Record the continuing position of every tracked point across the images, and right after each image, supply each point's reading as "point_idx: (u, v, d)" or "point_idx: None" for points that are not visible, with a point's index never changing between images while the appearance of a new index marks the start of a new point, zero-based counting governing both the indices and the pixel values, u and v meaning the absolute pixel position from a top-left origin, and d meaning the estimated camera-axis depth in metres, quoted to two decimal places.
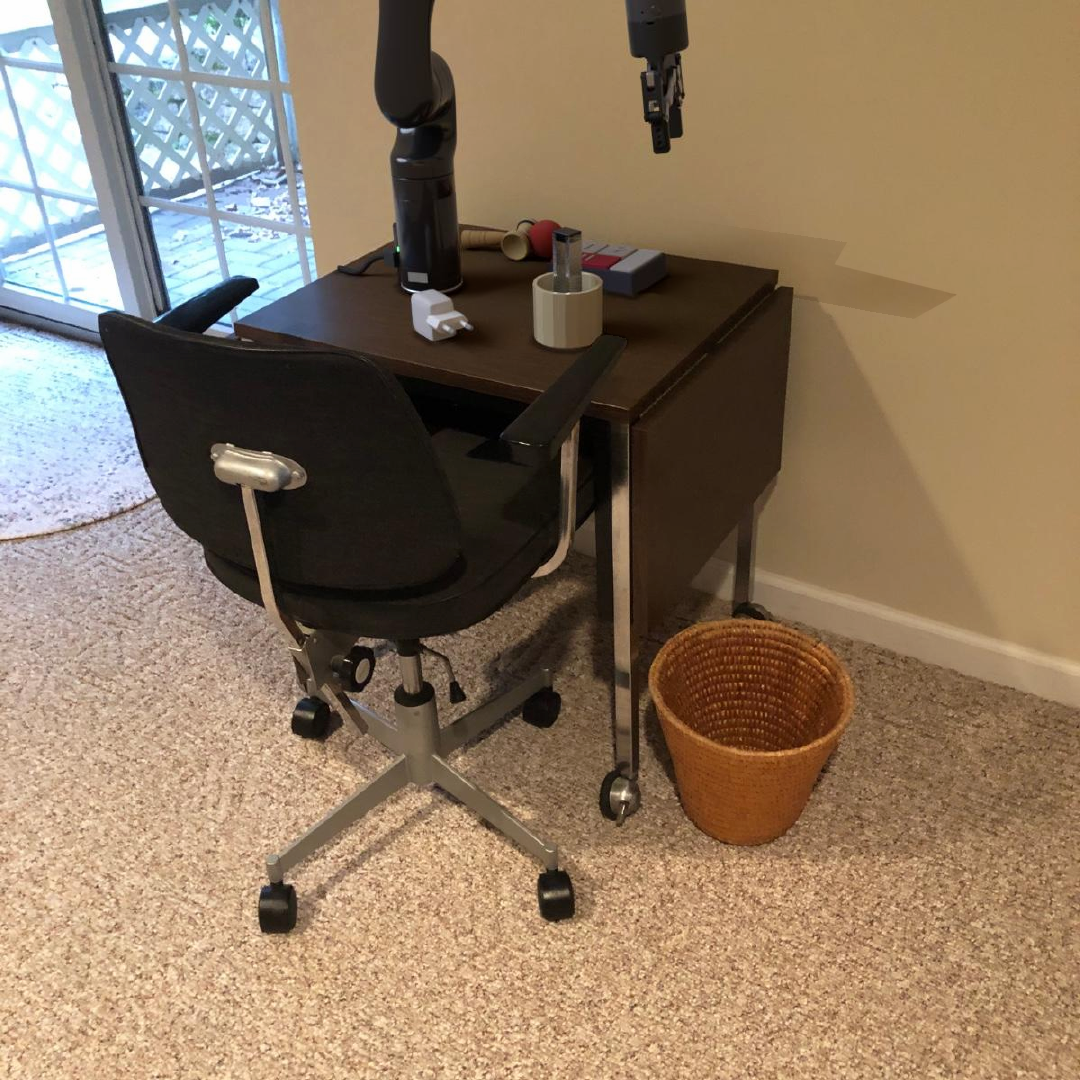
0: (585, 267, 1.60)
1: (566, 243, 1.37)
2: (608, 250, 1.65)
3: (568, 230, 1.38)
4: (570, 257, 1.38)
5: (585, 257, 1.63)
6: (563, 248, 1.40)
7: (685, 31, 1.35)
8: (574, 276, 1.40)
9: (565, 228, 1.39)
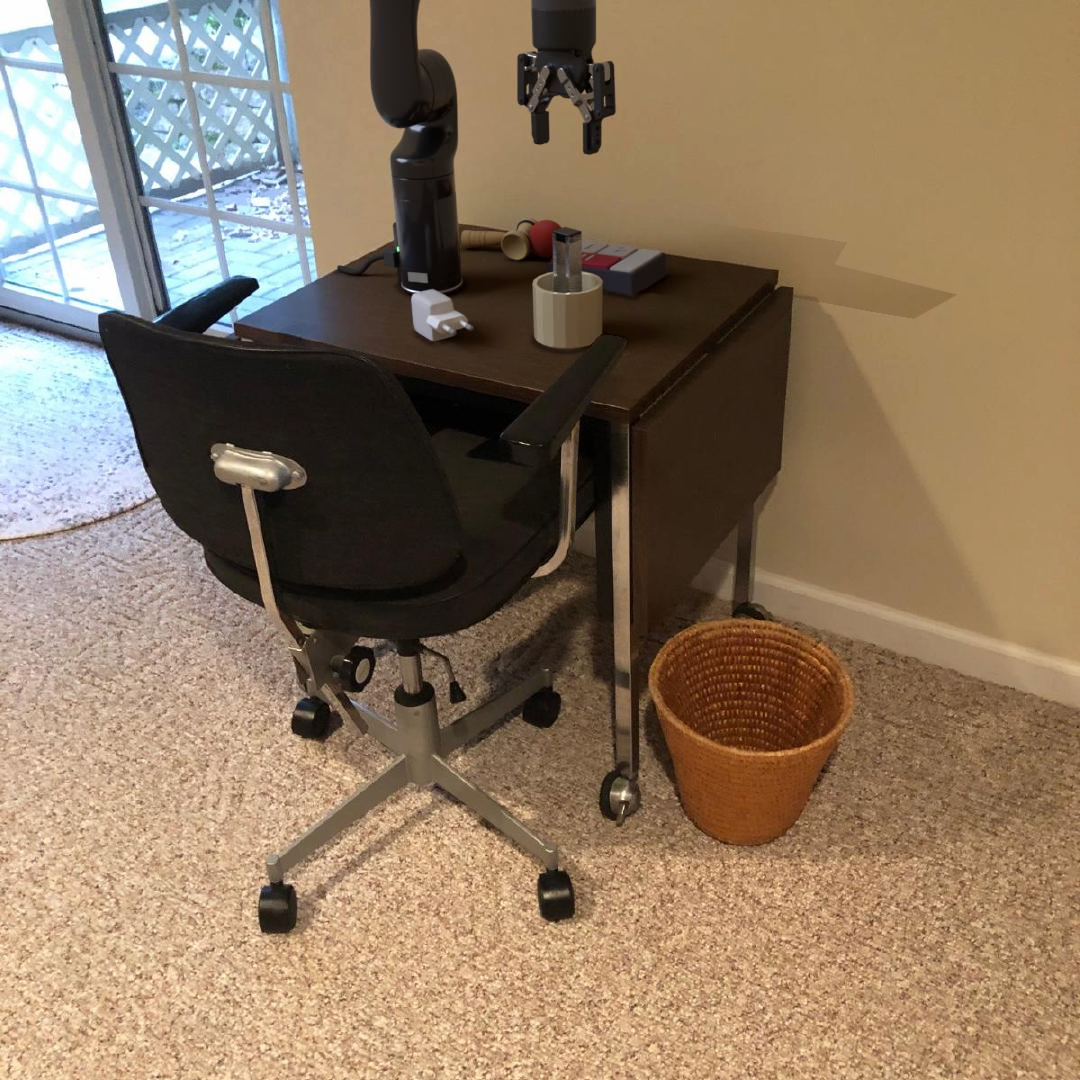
0: (585, 267, 1.60)
1: (566, 243, 1.37)
2: (608, 250, 1.65)
3: (568, 230, 1.38)
4: (570, 257, 1.38)
5: (585, 257, 1.63)
6: (563, 248, 1.40)
7: (537, 30, 1.23)
8: (574, 276, 1.40)
9: (565, 228, 1.39)
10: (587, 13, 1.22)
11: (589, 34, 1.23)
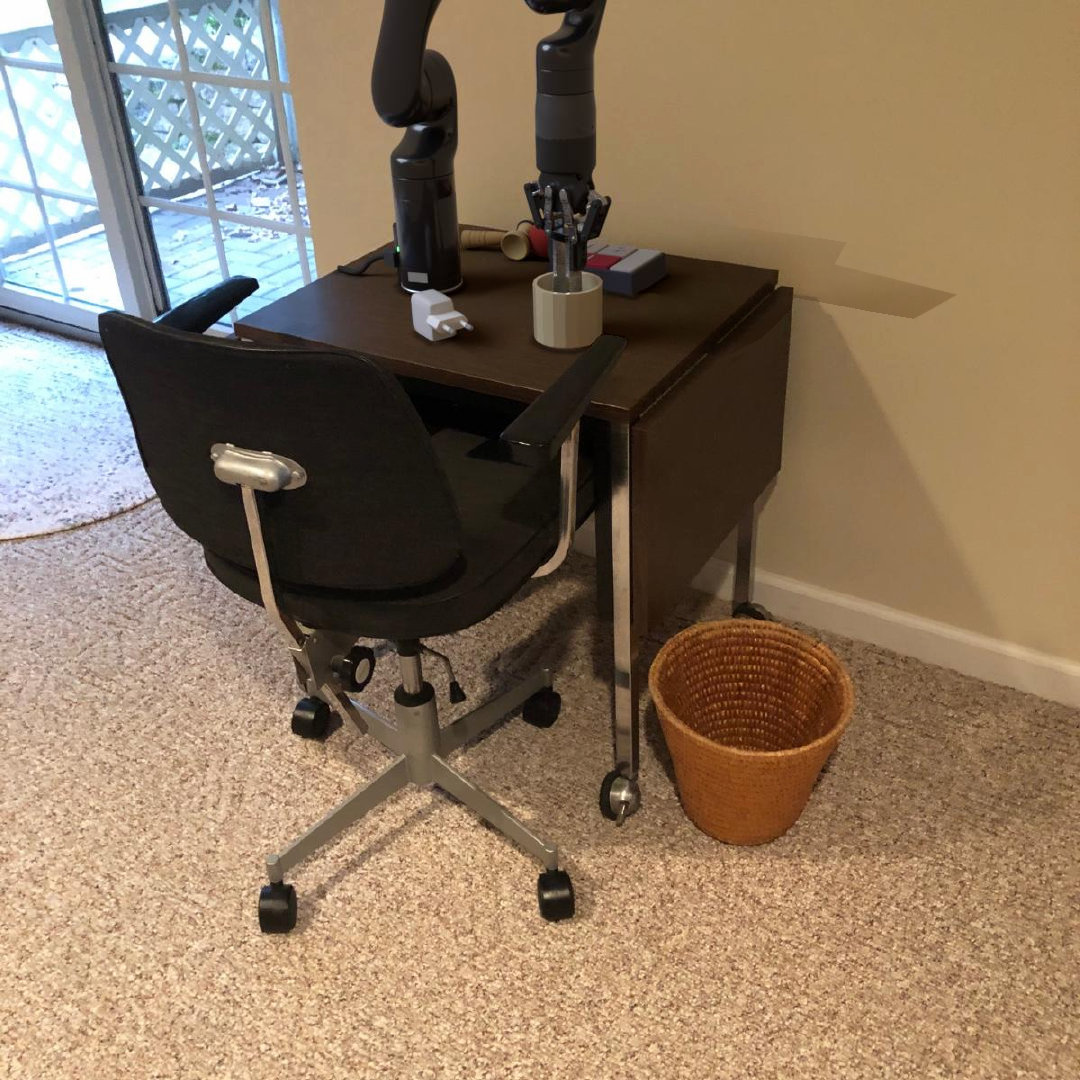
0: (585, 267, 1.60)
1: (566, 243, 1.37)
2: (608, 250, 1.65)
3: (568, 230, 1.38)
4: None
5: None
6: (563, 248, 1.40)
7: (540, 155, 1.31)
8: (574, 276, 1.40)
9: (565, 228, 1.39)
10: (588, 141, 1.29)
11: (590, 159, 1.31)
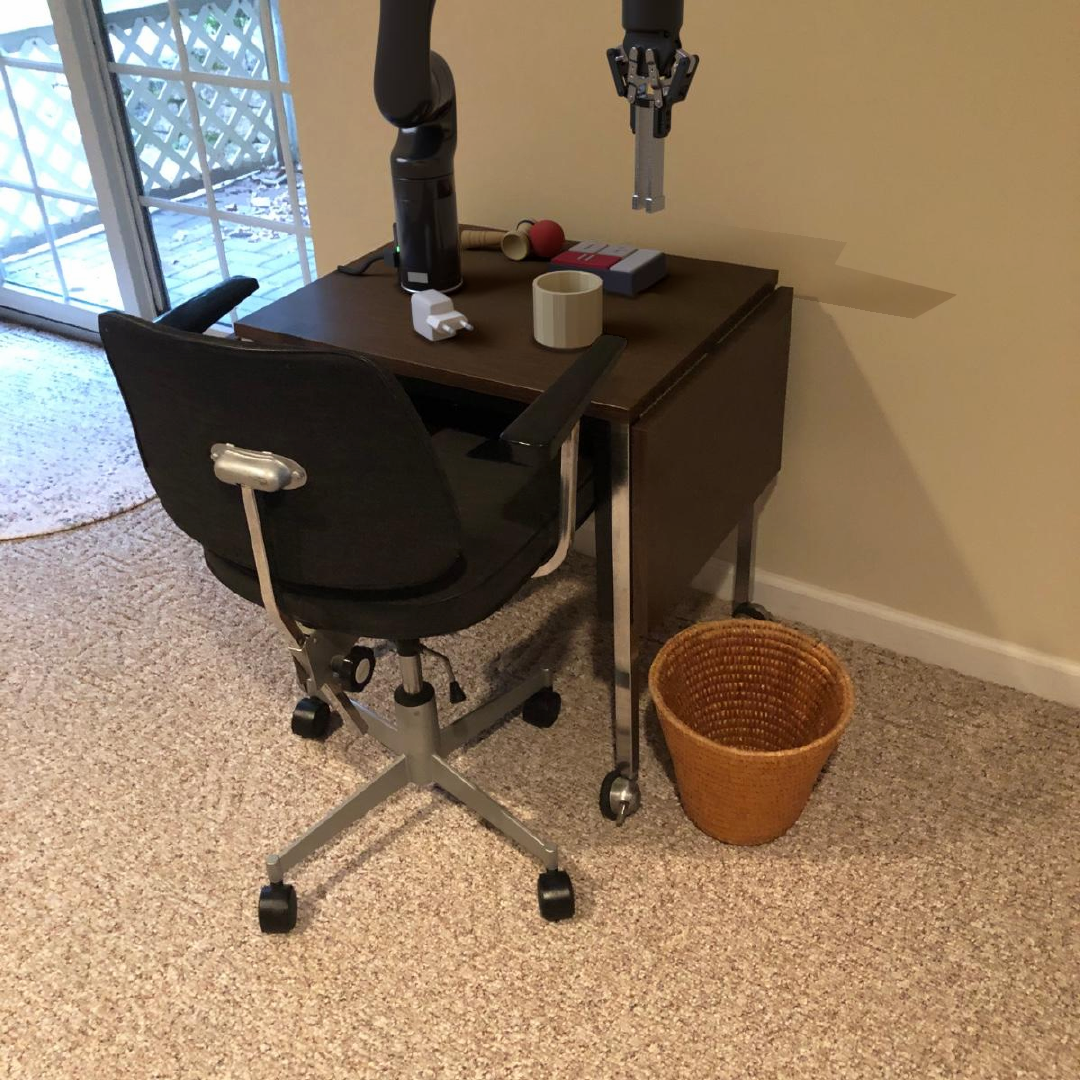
0: (585, 267, 1.60)
1: (650, 108, 1.35)
2: (608, 250, 1.65)
3: (652, 95, 1.36)
4: None
5: (585, 257, 1.63)
6: (646, 115, 1.38)
7: (627, 12, 1.29)
8: (657, 144, 1.38)
9: (648, 94, 1.37)
10: None
11: (678, 16, 1.29)
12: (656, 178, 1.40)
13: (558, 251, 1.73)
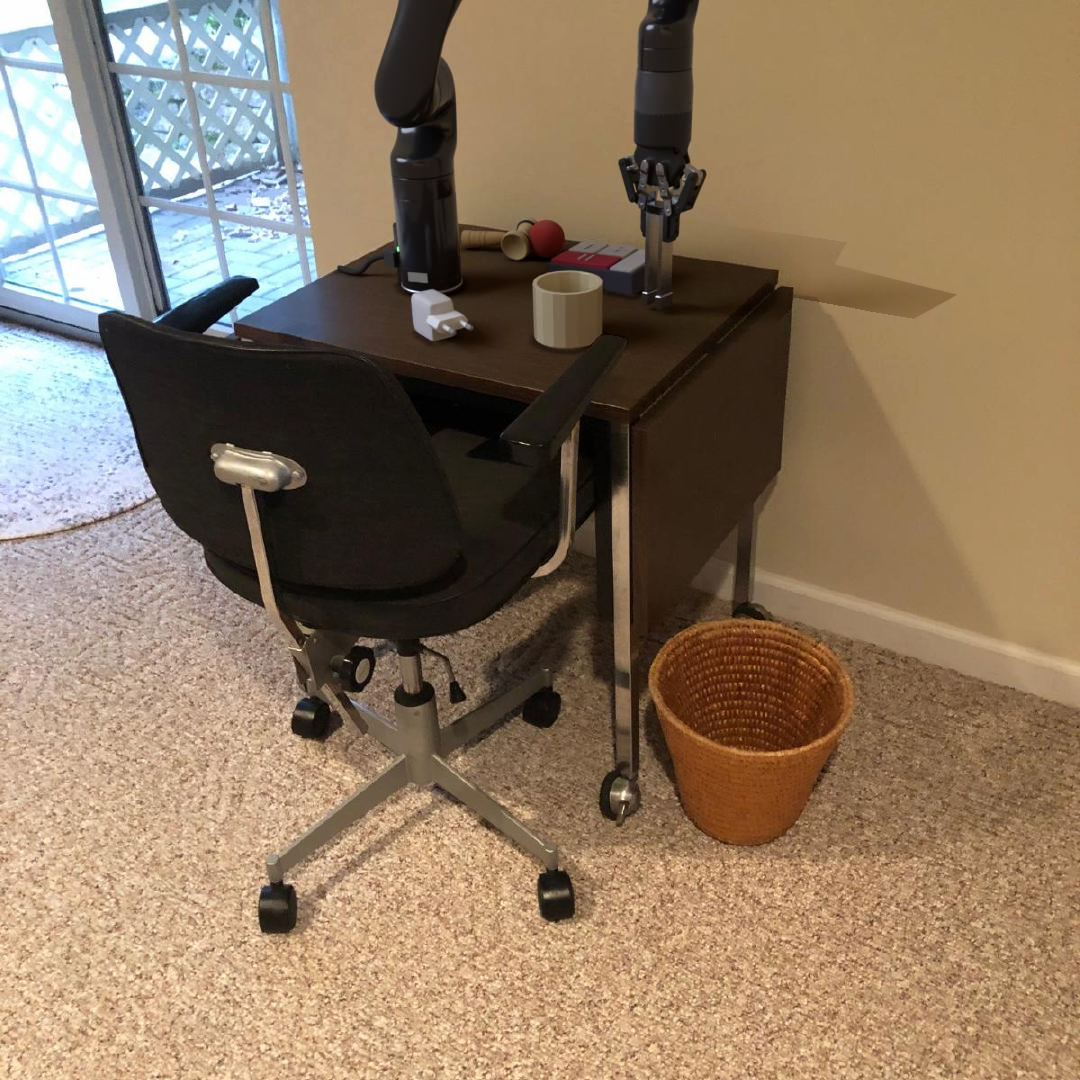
0: (585, 267, 1.60)
1: (660, 215, 1.44)
2: (608, 250, 1.65)
3: (661, 203, 1.45)
4: None
5: (585, 257, 1.63)
6: (655, 220, 1.46)
7: (639, 130, 1.37)
8: (666, 247, 1.47)
9: (658, 201, 1.45)
10: (686, 116, 1.36)
11: (686, 134, 1.37)
12: (665, 278, 1.49)
13: (558, 251, 1.73)
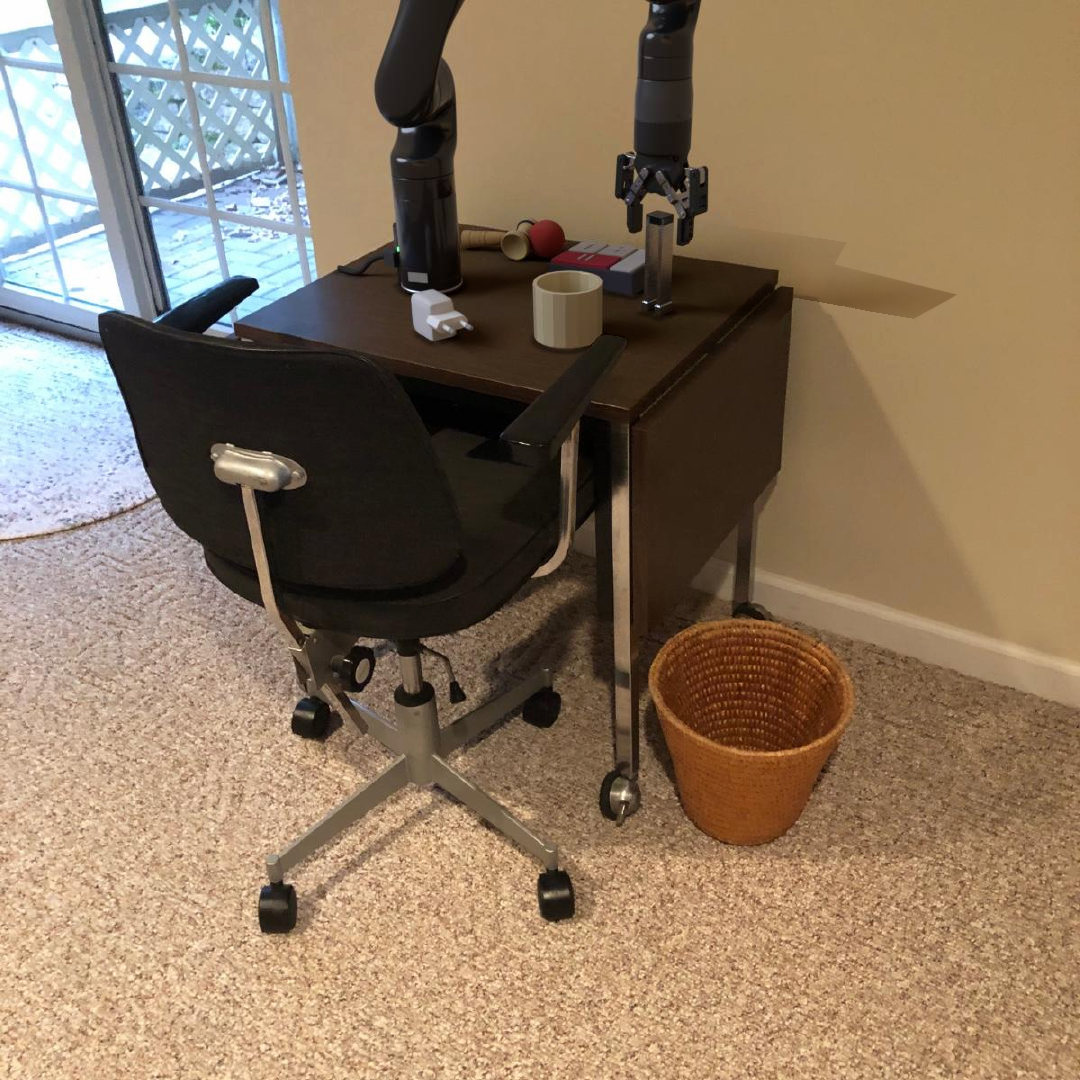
0: (585, 267, 1.60)
1: (660, 225, 1.45)
2: (608, 250, 1.65)
3: (661, 213, 1.45)
4: (663, 239, 1.45)
5: (585, 257, 1.63)
6: (655, 230, 1.47)
7: (639, 138, 1.38)
8: (666, 257, 1.47)
9: (658, 211, 1.46)
10: (685, 124, 1.36)
11: (686, 142, 1.38)
12: (664, 287, 1.50)
13: (558, 251, 1.73)
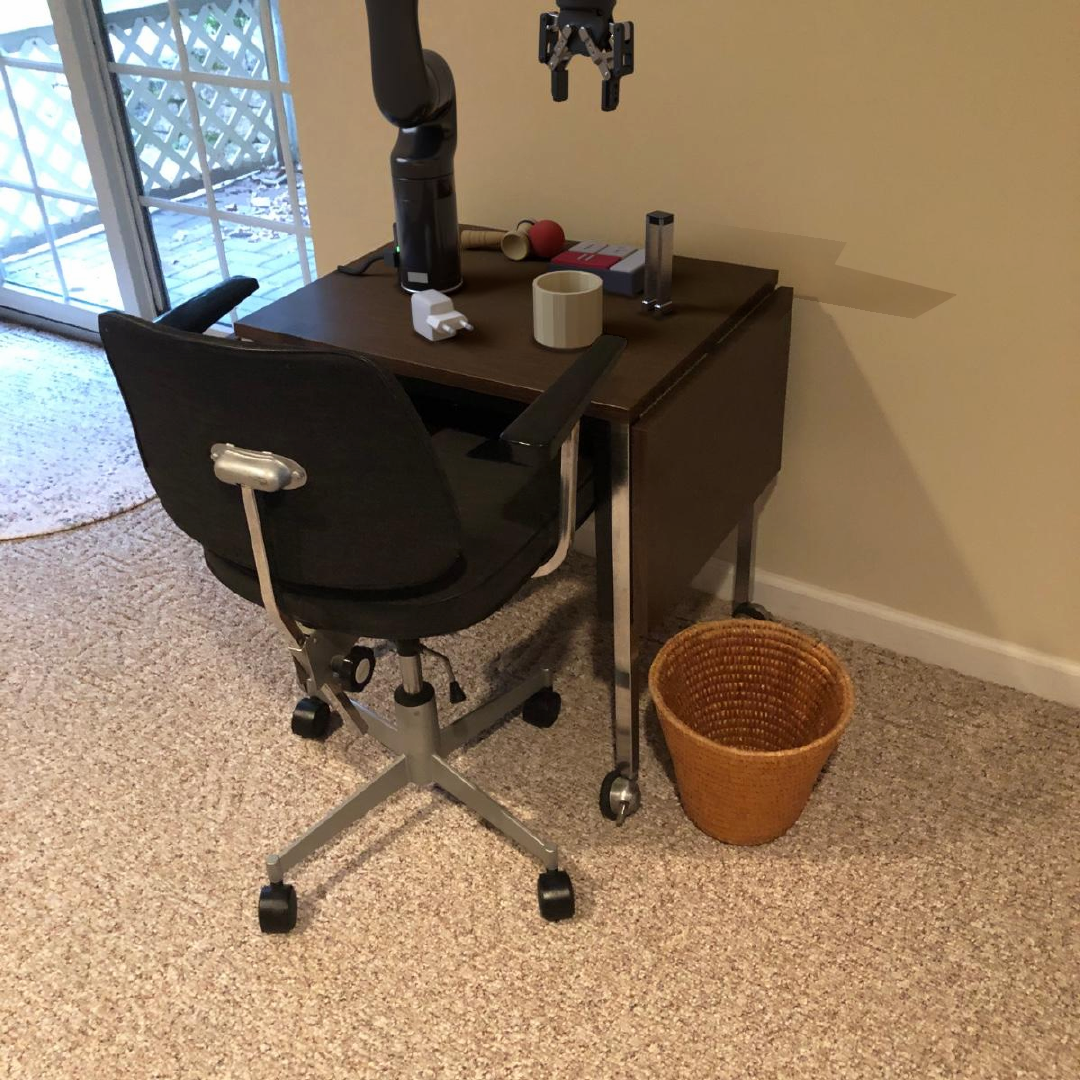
0: (585, 267, 1.60)
1: (660, 225, 1.45)
2: (608, 250, 1.65)
3: (661, 213, 1.45)
4: (663, 239, 1.45)
5: (585, 257, 1.63)
6: (655, 230, 1.47)
7: None
8: (666, 257, 1.47)
9: (658, 211, 1.46)
10: None
11: None
12: (664, 287, 1.50)
13: (558, 251, 1.73)
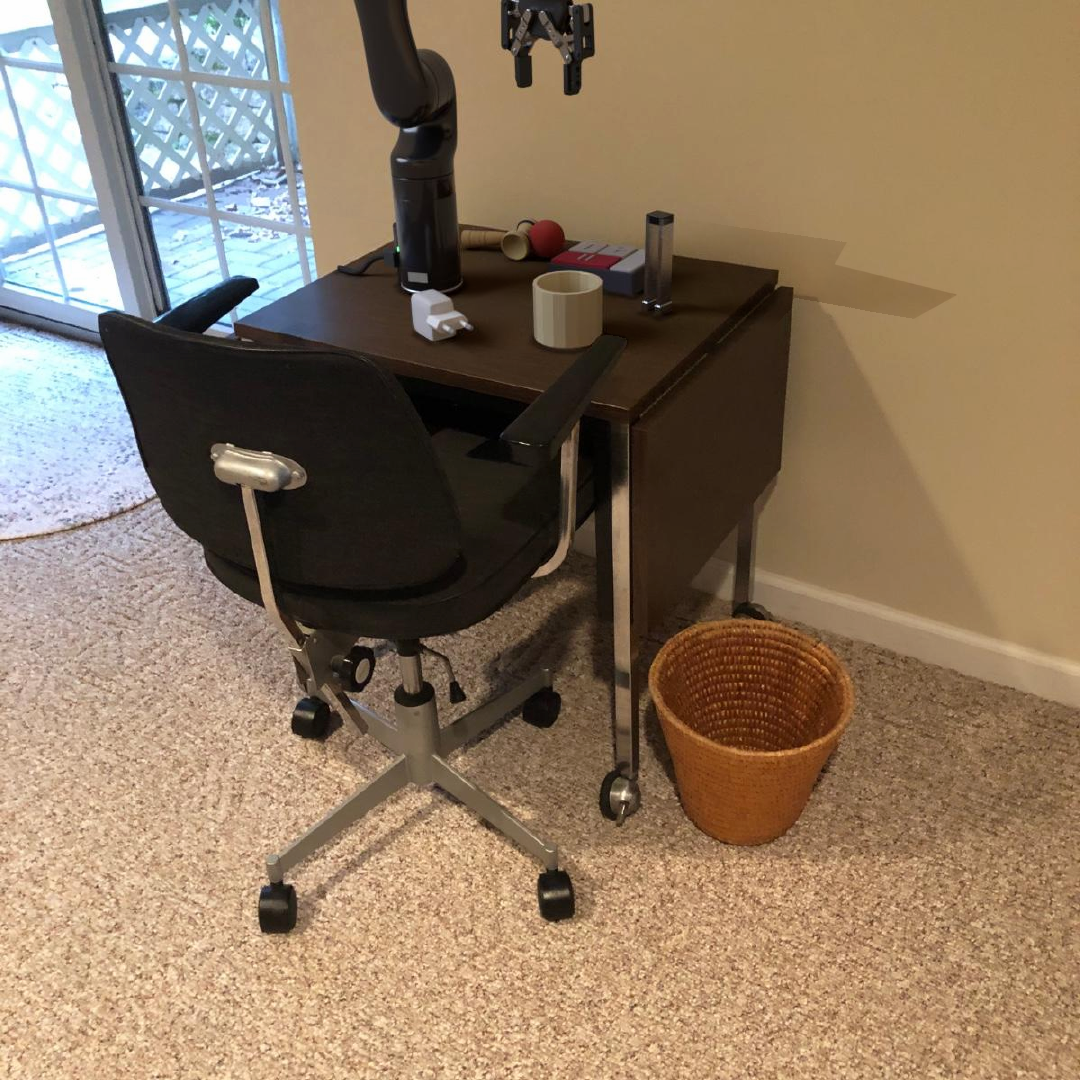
0: (585, 267, 1.60)
1: (660, 225, 1.45)
2: (608, 250, 1.65)
3: (661, 213, 1.45)
4: (663, 239, 1.45)
5: (585, 257, 1.63)
6: (655, 230, 1.47)
7: None
8: (666, 257, 1.47)
9: (658, 211, 1.46)
10: None
11: None
12: (664, 287, 1.50)
13: (558, 251, 1.73)
